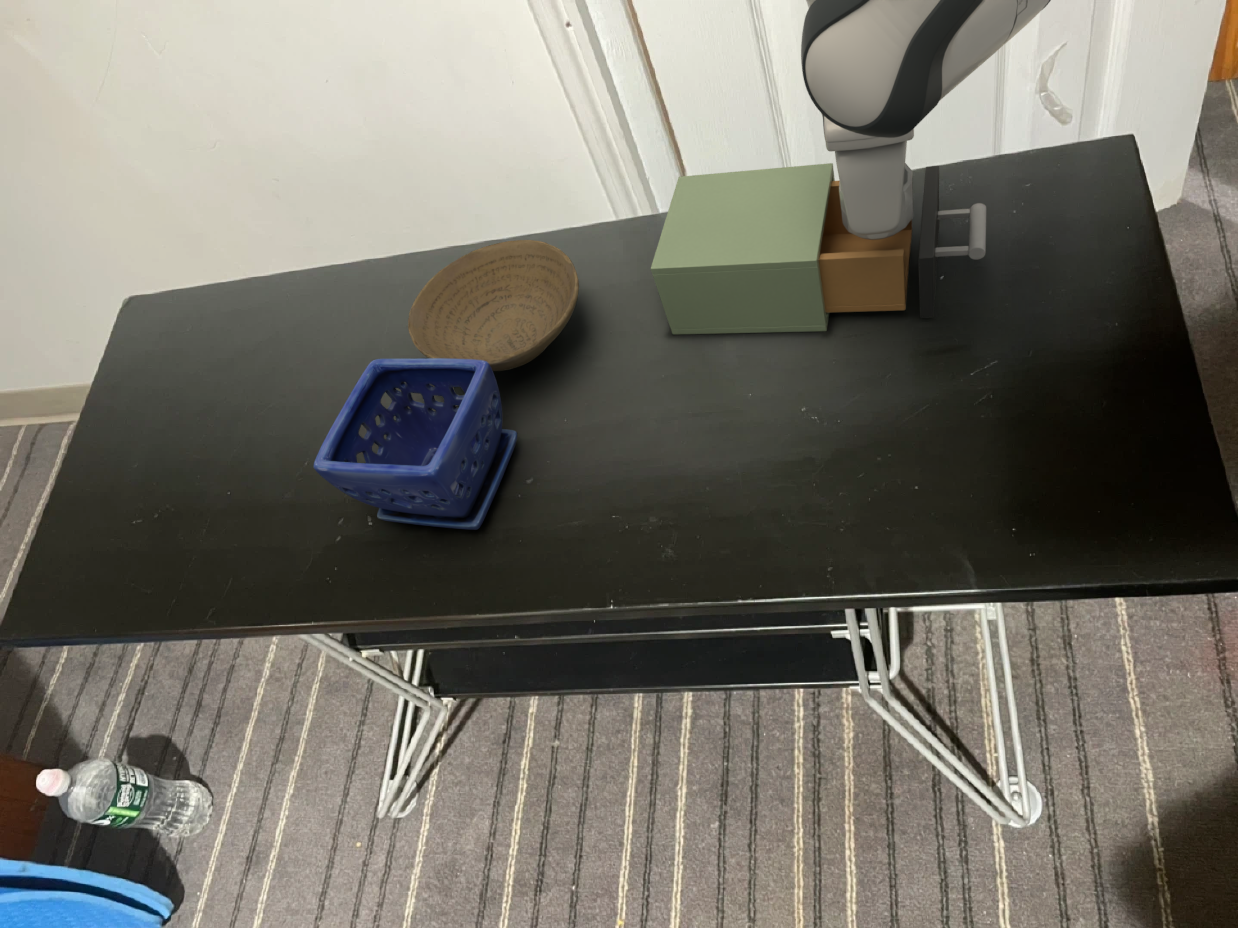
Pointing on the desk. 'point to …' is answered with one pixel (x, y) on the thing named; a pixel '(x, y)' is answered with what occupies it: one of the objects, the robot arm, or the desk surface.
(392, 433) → the flower pot
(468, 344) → the bowl
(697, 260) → the cabinet
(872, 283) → the drawer
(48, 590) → the desk surface
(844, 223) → the steel bowl
